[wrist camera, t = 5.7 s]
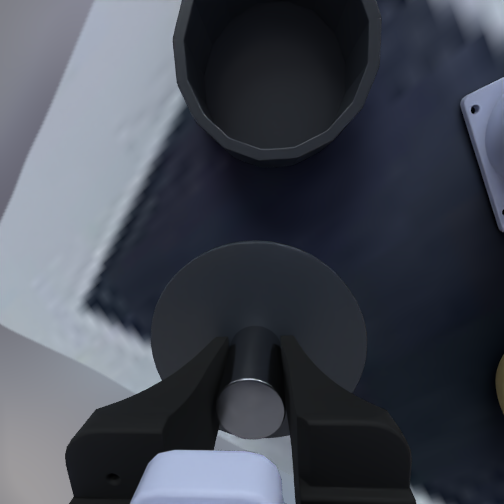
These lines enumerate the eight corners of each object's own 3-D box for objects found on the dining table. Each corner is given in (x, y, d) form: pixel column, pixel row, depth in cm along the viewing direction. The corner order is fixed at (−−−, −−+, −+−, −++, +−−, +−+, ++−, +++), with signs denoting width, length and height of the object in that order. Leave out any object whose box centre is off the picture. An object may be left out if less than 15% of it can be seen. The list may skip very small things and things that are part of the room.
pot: (376, 124, 18) (411, 101, 13) (238, 192, 19) (229, 192, 15) (315, -40, 16) (332, -129, 12) (170, 49, 18) (137, 1, 13)
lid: (400, 360, 14) (468, 447, 10) (239, 451, 17) (225, 563, 12) (279, 193, 13) (284, 193, 8) (119, 315, 15) (44, 375, 10)
